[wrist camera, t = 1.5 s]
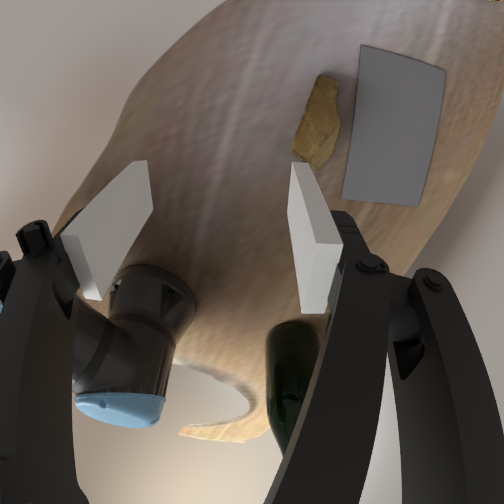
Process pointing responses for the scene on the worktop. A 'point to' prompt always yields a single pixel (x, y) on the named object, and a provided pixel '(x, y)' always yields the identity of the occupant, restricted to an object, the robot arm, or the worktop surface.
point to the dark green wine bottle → (288, 375)
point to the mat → (392, 128)
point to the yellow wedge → (318, 124)
